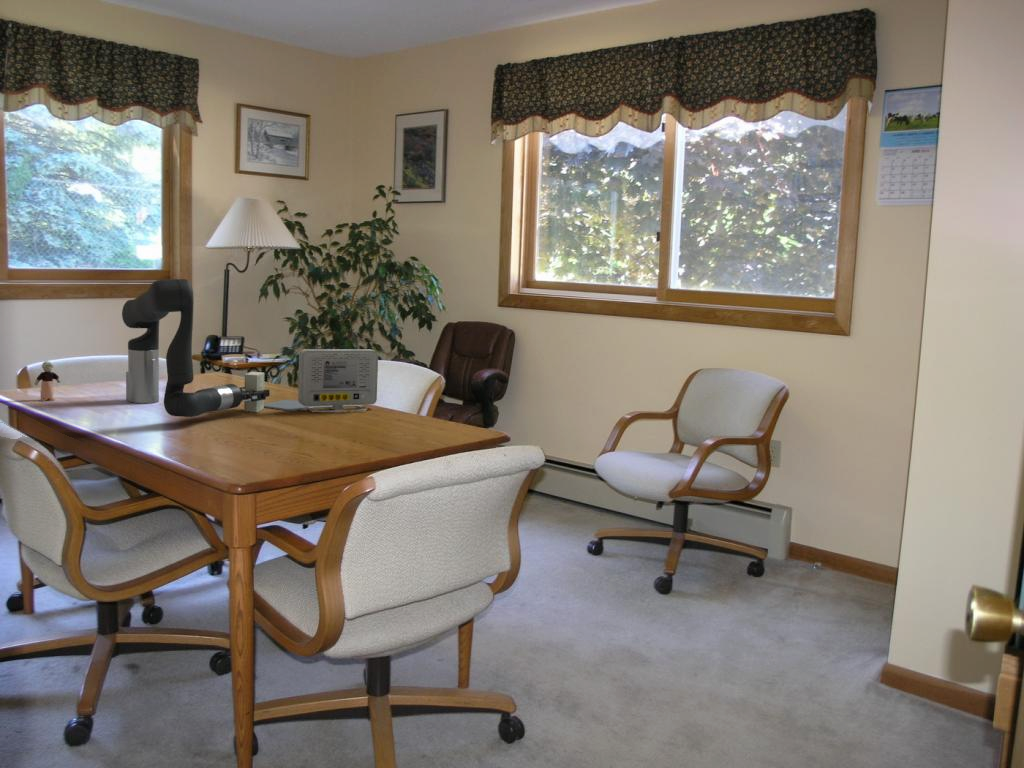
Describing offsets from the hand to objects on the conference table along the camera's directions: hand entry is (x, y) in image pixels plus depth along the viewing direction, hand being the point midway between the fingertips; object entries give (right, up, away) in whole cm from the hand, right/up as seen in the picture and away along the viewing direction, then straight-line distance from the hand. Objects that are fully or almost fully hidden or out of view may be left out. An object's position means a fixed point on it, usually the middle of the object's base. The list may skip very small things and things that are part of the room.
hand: (258, 391), depth 284 cm
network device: (+24, -6, +8) cm, 26 cm away
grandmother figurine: (-67, -3, -2) cm, 67 cm away
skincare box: (-1, -6, -1) cm, 6 cm away
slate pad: (+8, -5, +10) cm, 13 cm away
